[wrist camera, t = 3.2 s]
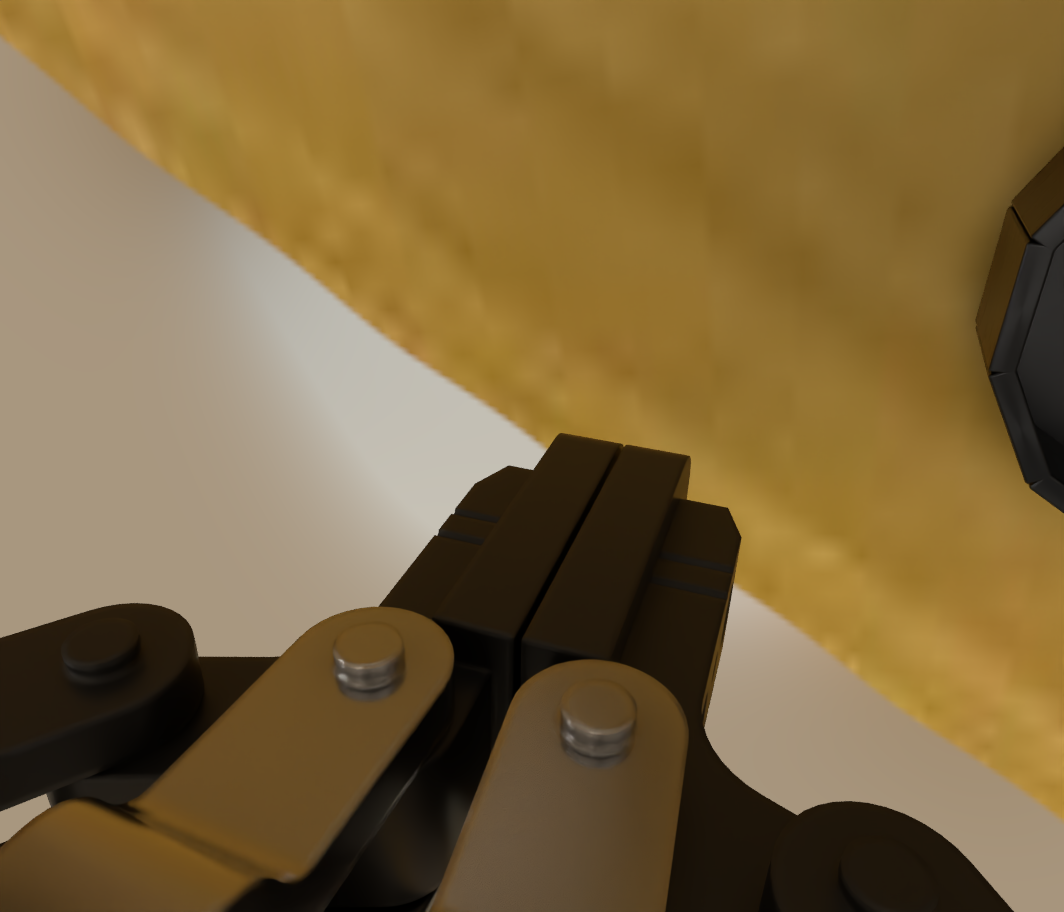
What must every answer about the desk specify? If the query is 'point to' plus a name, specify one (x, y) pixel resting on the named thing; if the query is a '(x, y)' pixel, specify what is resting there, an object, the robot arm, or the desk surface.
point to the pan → (1030, 329)
